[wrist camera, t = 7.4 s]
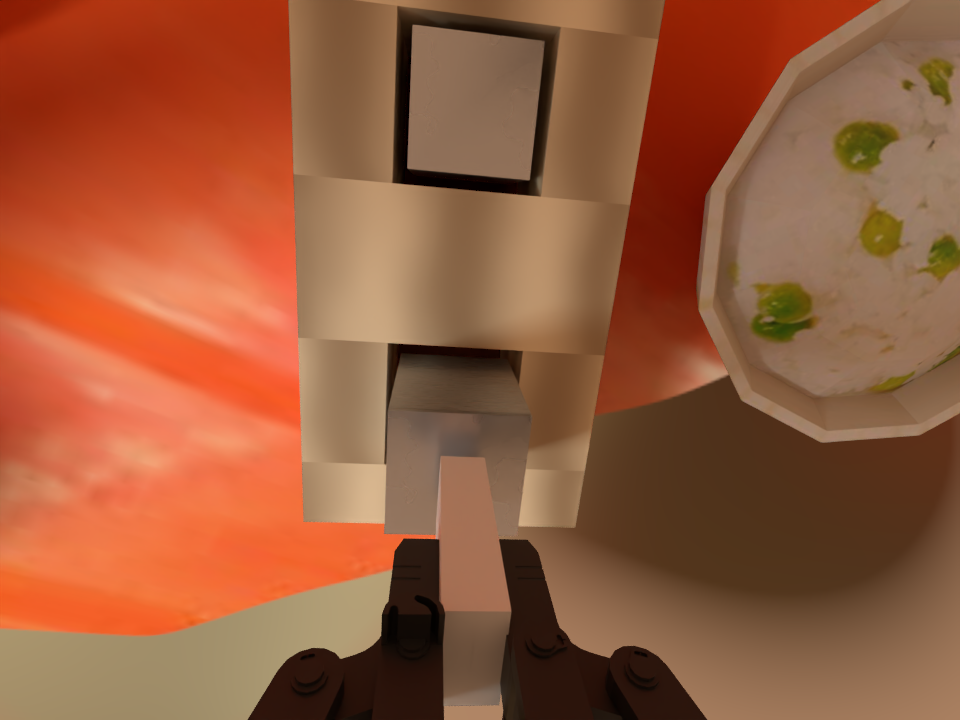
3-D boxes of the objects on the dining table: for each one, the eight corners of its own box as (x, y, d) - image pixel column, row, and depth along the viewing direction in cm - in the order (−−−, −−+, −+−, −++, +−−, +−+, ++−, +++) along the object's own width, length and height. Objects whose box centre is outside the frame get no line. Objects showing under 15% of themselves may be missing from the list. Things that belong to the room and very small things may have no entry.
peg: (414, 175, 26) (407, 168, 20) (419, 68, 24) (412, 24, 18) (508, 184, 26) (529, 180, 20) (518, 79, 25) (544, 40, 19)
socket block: (331, 453, 31) (303, 521, 25) (327, -35, 23) (284, -127, 17) (547, 460, 33) (575, 527, 26) (612, 3, 25) (676, -67, 18)
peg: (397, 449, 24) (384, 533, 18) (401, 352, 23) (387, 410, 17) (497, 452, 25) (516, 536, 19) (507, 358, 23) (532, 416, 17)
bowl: (848, 403, 33) (1012, 485, 24) (580, 349, 31) (644, 418, 21) (999, 94, 28) (1289, 40, 18) (687, -7, 25) (840, -132, 16)
